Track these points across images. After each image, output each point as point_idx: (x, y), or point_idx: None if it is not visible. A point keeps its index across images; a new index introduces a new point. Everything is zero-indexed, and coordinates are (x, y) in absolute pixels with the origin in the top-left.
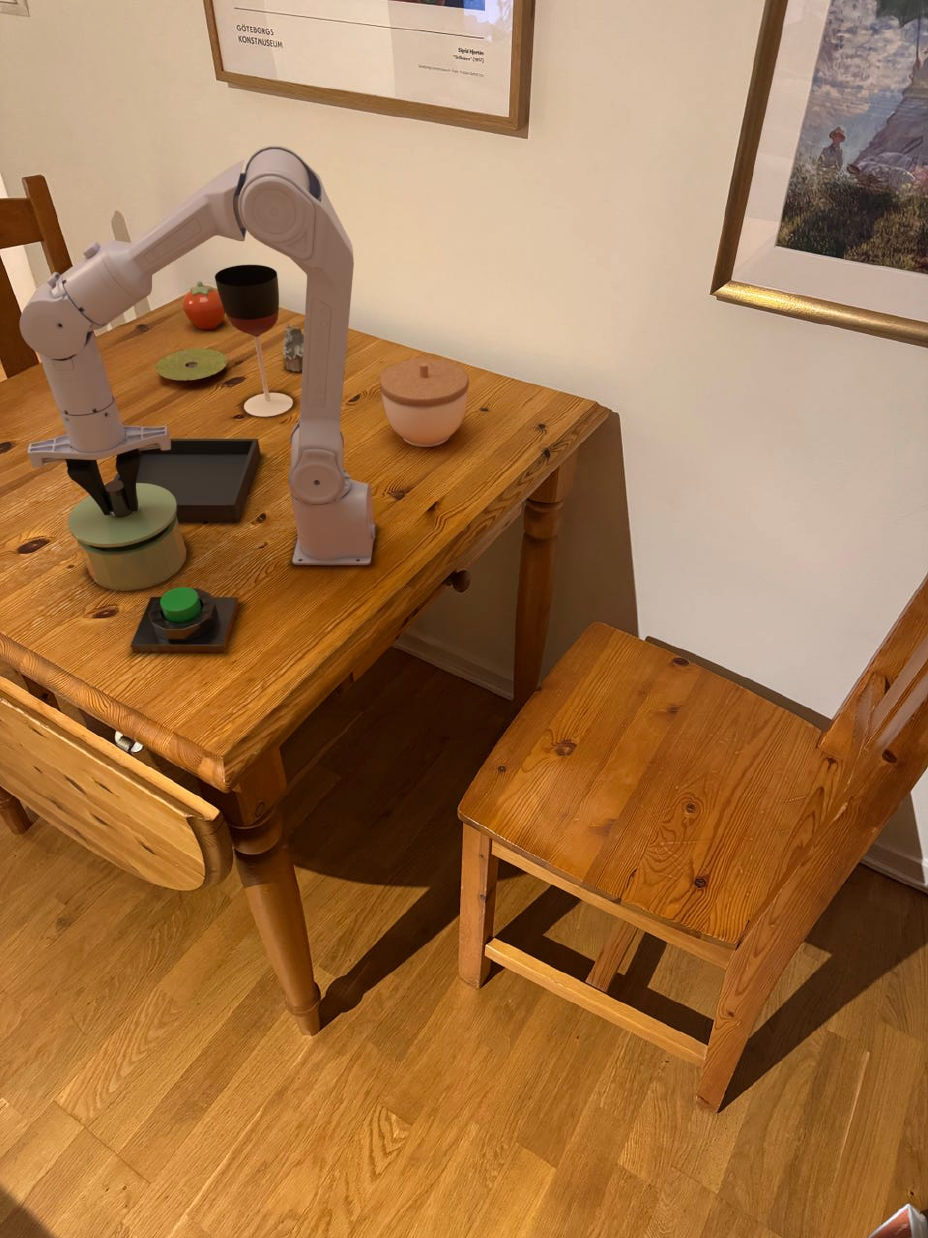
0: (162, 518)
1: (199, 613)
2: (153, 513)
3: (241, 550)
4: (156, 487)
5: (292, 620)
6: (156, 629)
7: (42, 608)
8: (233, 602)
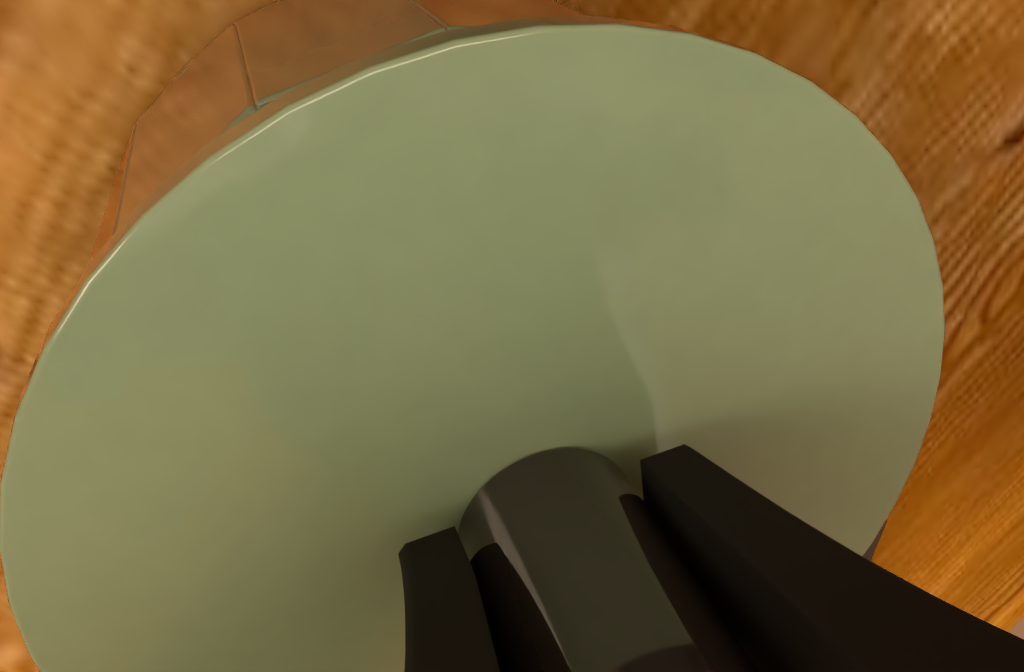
0: (835, 538)
1: None
2: (778, 497)
3: (926, 166)
4: (818, 136)
5: (991, 525)
6: None
7: (14, 657)
8: (870, 546)
